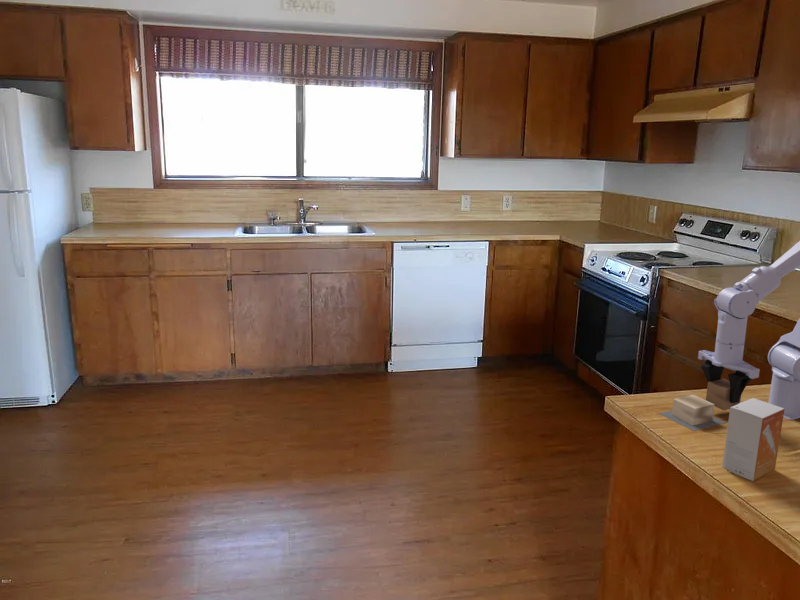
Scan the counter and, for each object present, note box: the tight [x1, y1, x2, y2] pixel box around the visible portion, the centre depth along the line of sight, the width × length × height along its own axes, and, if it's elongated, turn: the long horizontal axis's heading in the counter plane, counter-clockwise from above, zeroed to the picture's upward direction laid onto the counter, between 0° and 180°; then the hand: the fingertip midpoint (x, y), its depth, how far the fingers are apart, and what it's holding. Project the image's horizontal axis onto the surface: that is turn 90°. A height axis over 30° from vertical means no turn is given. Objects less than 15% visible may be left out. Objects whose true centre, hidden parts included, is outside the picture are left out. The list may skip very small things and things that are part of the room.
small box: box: [721, 397, 785, 482], centre depth 122 cm, size 8×6×13 cm
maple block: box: [671, 394, 715, 425], centre depth 144 cm, size 6×6×4 cm
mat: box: [658, 409, 727, 432], centre depth 145 cm, size 10×10×1 cm
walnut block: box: [705, 378, 742, 411], centre depth 146 cm, size 5×5×5 cm
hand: (723, 397), depth 146 cm, fingers closed on walnut block, 5 cm apart
